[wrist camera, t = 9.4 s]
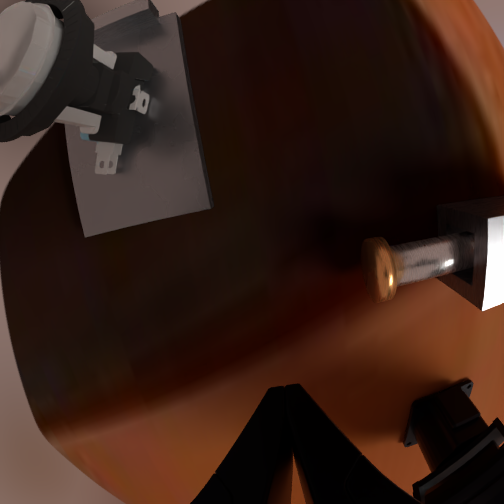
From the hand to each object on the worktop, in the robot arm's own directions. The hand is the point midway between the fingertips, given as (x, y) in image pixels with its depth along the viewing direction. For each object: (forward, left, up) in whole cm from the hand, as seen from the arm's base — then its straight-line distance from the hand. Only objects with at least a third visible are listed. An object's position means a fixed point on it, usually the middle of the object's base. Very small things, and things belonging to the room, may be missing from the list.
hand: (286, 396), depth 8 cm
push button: (+11, +6, -9) cm, 16 cm away
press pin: (0, -9, -10) cm, 14 cm away
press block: (0, -15, -10) cm, 18 cm away
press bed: (+11, +7, -10) cm, 16 cm away
